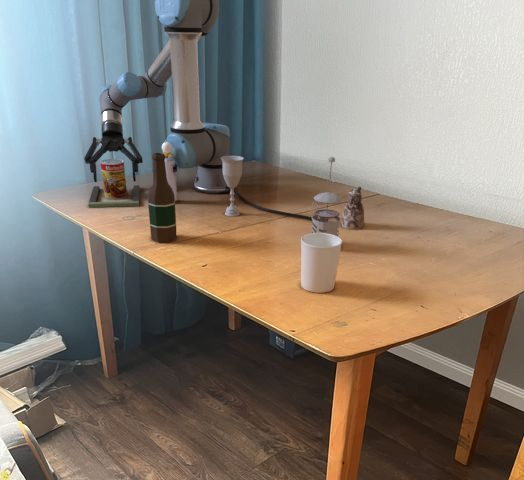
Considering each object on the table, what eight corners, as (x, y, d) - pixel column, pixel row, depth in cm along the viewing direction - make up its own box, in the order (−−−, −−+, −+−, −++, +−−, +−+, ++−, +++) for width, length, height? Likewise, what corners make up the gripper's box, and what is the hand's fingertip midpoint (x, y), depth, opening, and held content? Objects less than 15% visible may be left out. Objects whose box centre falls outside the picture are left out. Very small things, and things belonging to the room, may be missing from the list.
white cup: (295, 277, 140) (298, 232, 134) (333, 277, 141) (337, 232, 134) (300, 294, 132) (304, 247, 125) (340, 294, 132) (346, 247, 126)
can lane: (94, 189, 202) (93, 186, 202) (139, 188, 205) (139, 185, 205) (88, 207, 184) (88, 204, 183) (139, 206, 187) (138, 202, 186)
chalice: (244, 211, 185) (245, 156, 176) (241, 217, 180) (242, 161, 170) (223, 210, 186) (222, 155, 176) (219, 216, 180) (219, 159, 171)
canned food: (113, 200, 192) (109, 165, 185) (100, 195, 196) (95, 161, 190) (131, 196, 197) (128, 161, 190) (118, 191, 201) (114, 157, 195)
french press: (318, 253, 155) (326, 162, 141) (297, 240, 163) (303, 153, 150) (347, 248, 159) (357, 159, 145) (325, 235, 167) (333, 150, 154)
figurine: (336, 225, 176) (340, 187, 170) (349, 220, 180) (353, 183, 174) (354, 230, 172) (359, 192, 166) (367, 225, 176) (372, 188, 170)
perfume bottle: (160, 203, 190) (156, 143, 179) (163, 199, 195) (159, 139, 184) (177, 204, 190) (174, 143, 179) (180, 199, 195) (176, 140, 184)
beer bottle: (182, 236, 163) (177, 152, 151) (169, 244, 157) (164, 158, 144) (158, 232, 165) (152, 149, 153) (145, 240, 159) (138, 155, 147)
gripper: (147, 133, 206) (150, 184, 201) (78, 133, 202) (80, 185, 197) (146, 120, 199) (149, 173, 194) (74, 120, 194) (76, 174, 190)
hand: (114, 179), depth 196 cm, fingers open, 13 cm apart
